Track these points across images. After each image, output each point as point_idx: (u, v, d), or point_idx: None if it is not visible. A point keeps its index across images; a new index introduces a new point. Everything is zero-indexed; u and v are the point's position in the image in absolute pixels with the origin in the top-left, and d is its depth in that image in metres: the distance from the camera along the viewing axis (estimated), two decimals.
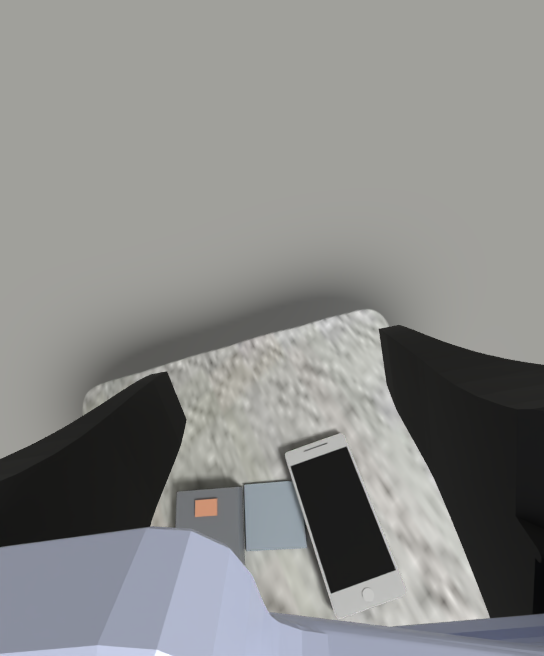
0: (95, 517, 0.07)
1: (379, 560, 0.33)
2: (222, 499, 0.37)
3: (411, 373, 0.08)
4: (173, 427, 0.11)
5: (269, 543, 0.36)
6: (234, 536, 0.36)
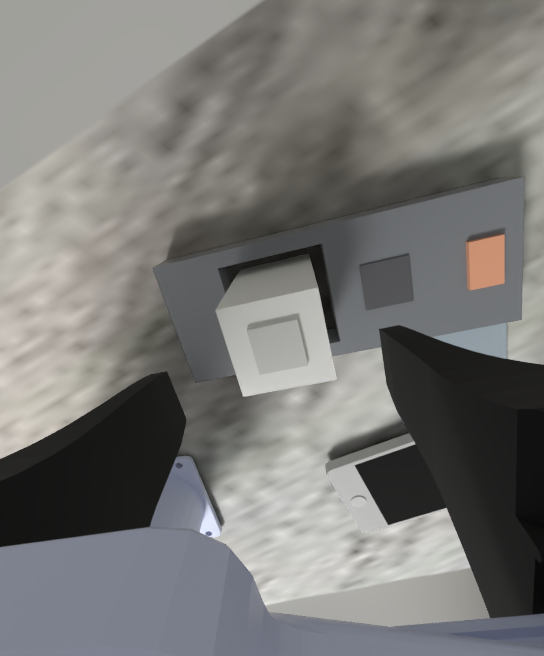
0: (95, 517, 0.07)
1: (396, 509, 0.25)
2: (497, 294, 0.17)
3: (411, 373, 0.08)
4: (173, 427, 0.11)
5: None
6: (428, 329, 0.18)
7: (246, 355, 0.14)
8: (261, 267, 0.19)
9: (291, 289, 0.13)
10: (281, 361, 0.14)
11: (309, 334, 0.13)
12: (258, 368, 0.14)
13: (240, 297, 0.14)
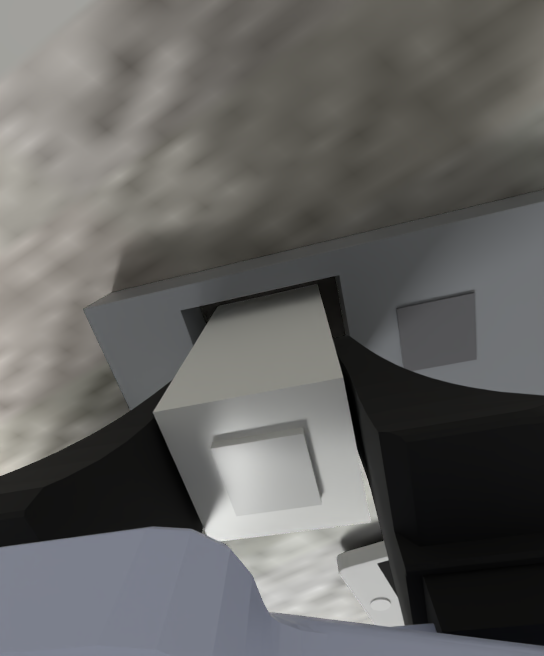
0: (161, 508, 0.07)
1: None
2: None
3: (346, 385, 0.08)
4: None
5: None
6: None
7: (212, 483, 0.08)
8: (248, 305, 0.13)
9: (292, 372, 0.07)
10: (274, 497, 0.08)
11: (324, 453, 0.07)
12: (234, 506, 0.08)
13: (203, 379, 0.08)
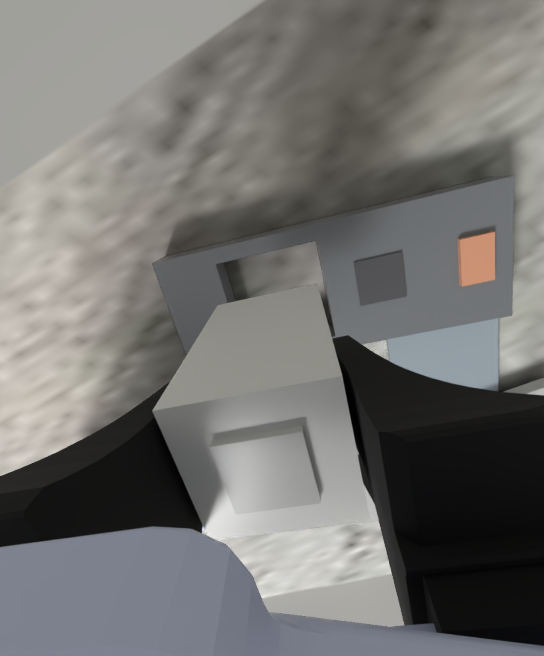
0: (161, 508, 0.07)
1: None
2: (488, 290, 0.18)
3: (346, 385, 0.08)
4: None
5: (399, 365, 0.22)
6: (421, 325, 0.19)
7: (212, 481, 0.08)
8: (247, 304, 0.13)
9: (291, 370, 0.07)
10: (273, 495, 0.08)
11: (323, 452, 0.07)
12: (233, 504, 0.08)
13: (202, 378, 0.08)
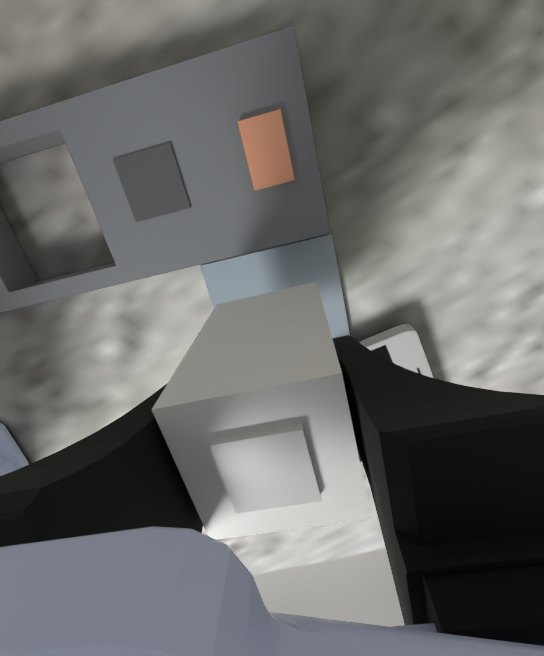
0: (161, 508, 0.07)
1: None
2: (294, 198, 0.14)
3: (347, 385, 0.08)
4: None
5: None
6: (219, 248, 0.15)
7: (212, 480, 0.08)
8: (247, 303, 0.13)
9: (291, 368, 0.07)
10: (273, 493, 0.08)
11: (323, 449, 0.07)
12: (233, 503, 0.08)
13: (202, 376, 0.08)
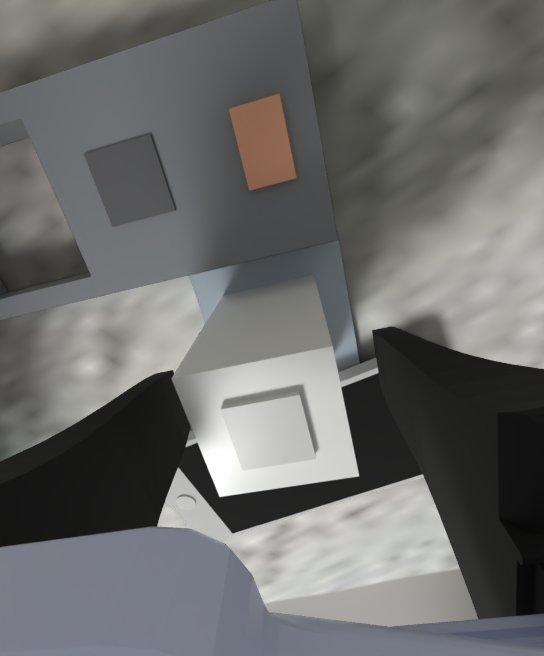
0: (104, 516, 0.07)
1: (240, 513, 0.19)
2: (296, 199, 0.12)
3: (402, 375, 0.08)
4: (179, 426, 0.11)
5: None
6: (209, 257, 0.13)
7: (222, 441, 0.09)
8: (250, 294, 0.14)
9: (289, 344, 0.09)
10: (274, 452, 0.09)
11: (317, 413, 0.09)
12: (240, 461, 0.09)
13: (213, 353, 0.09)
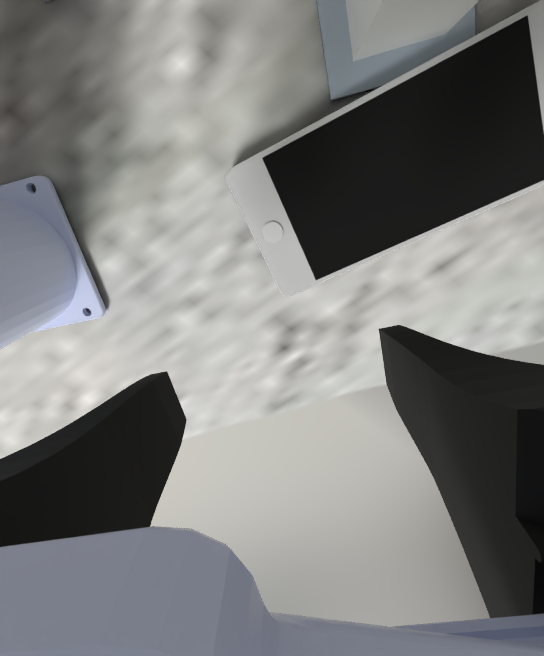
0: (95, 517, 0.07)
1: (326, 252, 0.18)
2: None
3: (411, 373, 0.08)
4: (173, 427, 0.11)
5: None
6: None
7: None
8: None
9: None
10: None
11: None
12: None
13: None
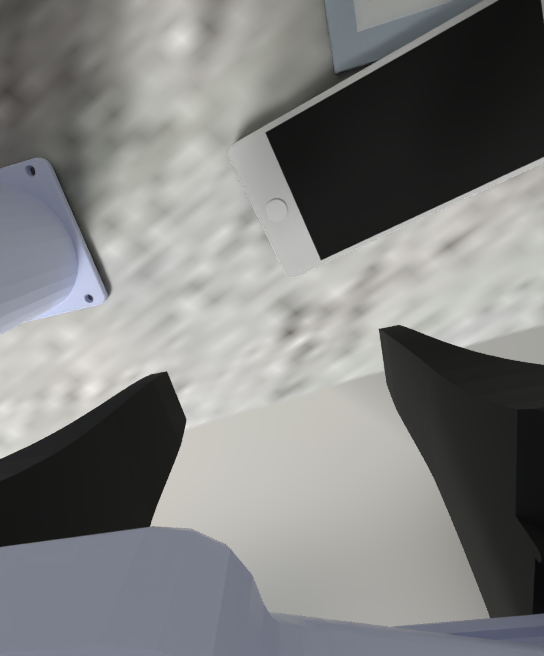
0: (95, 517, 0.07)
1: (332, 231, 0.18)
2: None
3: (411, 373, 0.08)
4: (173, 427, 0.11)
5: None
6: None
7: None
8: None
9: None
10: None
11: None
12: None
13: None
